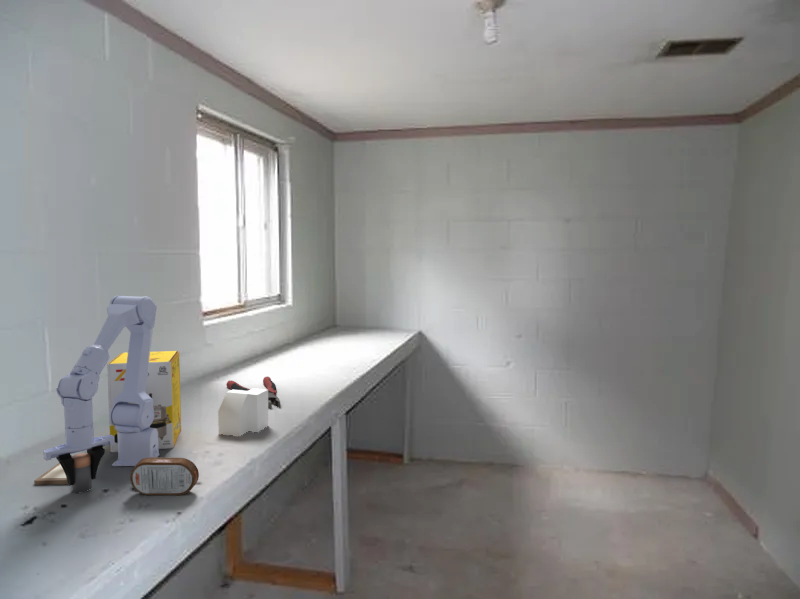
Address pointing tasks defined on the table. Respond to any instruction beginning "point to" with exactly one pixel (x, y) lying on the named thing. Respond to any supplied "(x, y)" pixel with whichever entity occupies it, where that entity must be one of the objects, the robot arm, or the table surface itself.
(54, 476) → the brown picture frame
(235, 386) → the pliers
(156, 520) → the table surface
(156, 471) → the tin
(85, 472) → the gray and tan capsule
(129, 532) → the table surface
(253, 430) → the corner bracket
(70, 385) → the robot arm
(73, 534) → the table surface
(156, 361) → the packaging box
